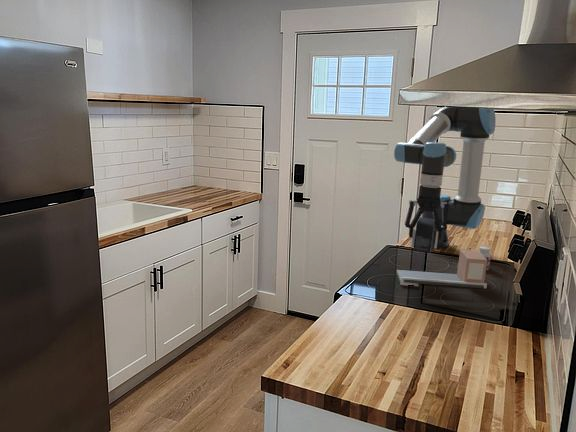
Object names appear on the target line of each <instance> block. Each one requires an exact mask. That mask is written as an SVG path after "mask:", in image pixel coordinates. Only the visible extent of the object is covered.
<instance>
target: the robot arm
mask: <svg viewBox="0 0 576 432" xmlns="http://www.w3.org/2000/svg"><path fill="white" fill-rule="evenodd" d="M495 129H496V113H495V109H494V108H493V109H484V108H455V107H446V106H444V107H442V108H440V109H438V110H437V111H435V112H434V113H433V114H432V115H431V116H430V117H429V119H428V122H427V123H426V124H425V125H424V126H422V128H421V129H420V130H418V132H417V133H416V134H415V135H414V136H413V137H412V138H411V139H409V141H408V142H397V144H395V145H396V146H395V148H394V150H393V151H394V152H393V154H394V160H395V161H396V162H398V163H406V164H413V165H415V164H416V165H421V172H420V180H419V185H420V186H419V190H418V197H417V199H414V200H413V199H409V200H408V202H409V203H408V204H409V205H408V206H409V207H408V210H407V214H406V218H405V220H404V221H405V222H404V226H405V228H408V230H409V231H408V237H409V238H411V239H410V247H411V248H414V239H415V231H416V225H417V222H418V220H419V219H420V217H422V218H430V219H435V222H436V227H435V233H434V241H433V247H432V248H433V249H435V250H436V249H437V248H438V249H440V248H446V247H448V246H449V242H450V241H449V236H448V232H447V230H448V225H449V226H454V227H458V228H464V229H470V230H471V229H472V230H475V229H477V228H478V227H479V226H480V224H481V222H482V219H483V218H484V214H485V211H486V209H485V208H486V205H485V204H484V203H482V198H481V197H480V196H479V192H480V183H481V176H482V168H483V167H482V166H483V159H484V158H483V157H484V152H485V142H486V141H487V140H489V138H490V135H493V134H494V132H495ZM448 132H458V133H460V134H459V135H460V136H459V137H460V139H462V151H461V161H460V170H459V171H460V172H459V180H458V189H457V194H456V195H454V196H453V199H452V198H451V196H450V195H449V194H441V193H442V188H441V187H442V186H443V185H442V184H443V177H444V176H443V175H444V168H447V167H450V166H451V165H452V164H454V163H455V162H456V159H457V153H456V150H455V149H454V148H453V147H452V146H448V145H446V144H447V143H444V142H438V141H437V140H438V139H439V138H440V137H441V136H442V135H443V134H446V133H448ZM416 205H418V209H417V210H416V211H417V212H416V213H415V215H414V217H413V219H412V216H413V213H414V207H416ZM411 220H412V221H411Z"/></svg>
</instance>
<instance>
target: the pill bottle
mask: <svg viewBox="0 0 576 432" xmlns="http://www.w3.org/2000/svg"><path fill="white" fill-rule="evenodd" d="M478 251H479V252H480V253H481V254H482V255H483V256H484V257H485V258H486V259H487V266H486V271H489V269H490V264H491V258H492V254H491V253H490V252H491V248H490V247H488V246H484V245H483V246H479V248H478Z"/></svg>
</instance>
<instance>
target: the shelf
mask: <svg viewBox="0 0 576 432" xmlns="http://www.w3.org/2000/svg"><path fill="white" fill-rule="evenodd" d="M395 273H396V276H397V278H398V281H399V284H400V285H401V286H408V285H414V286H413V287H420V284H422V285H434V286H436V285H437V286H447V287H448V286H449V287H450V286H451V287H461V288H462V287H463V288H475V289H487V287H488V283H486V282H484V283H476V282H462V281H461V280H460V279H459V278H458V276H457V273H446V272H445V273H444V272H443V273H442V272H430V271H417V270H405V269H396V272H395Z"/></svg>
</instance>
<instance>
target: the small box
mask: <svg viewBox="0 0 576 432" xmlns="http://www.w3.org/2000/svg"><path fill="white" fill-rule="evenodd" d="M435 227H436V222H435V219H430V218H422V216H420V218H419V220H418V222H417V223H416V225H415V230H416V231H415V239H414V247H412V249H413V251H414V252H415V251H416V252H421V253H428V254H431V253H432V252H431V251H432V249H433V248H434V247H433V241H434V233H435Z"/></svg>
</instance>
